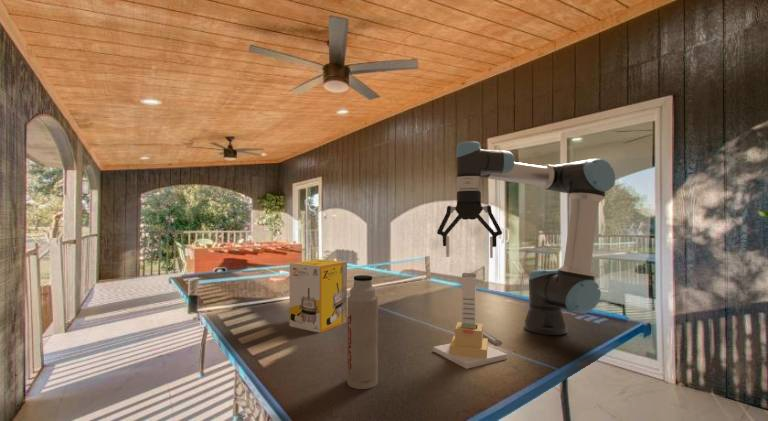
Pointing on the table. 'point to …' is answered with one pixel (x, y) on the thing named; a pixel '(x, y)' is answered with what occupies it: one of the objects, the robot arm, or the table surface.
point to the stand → (469, 348)
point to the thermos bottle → (362, 334)
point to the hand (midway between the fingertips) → (469, 257)
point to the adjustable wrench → (492, 338)
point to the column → (469, 300)
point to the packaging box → (318, 294)
